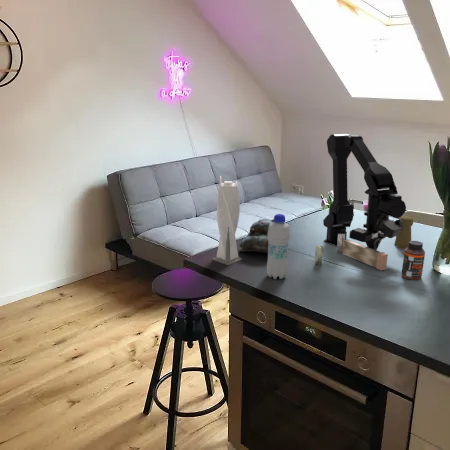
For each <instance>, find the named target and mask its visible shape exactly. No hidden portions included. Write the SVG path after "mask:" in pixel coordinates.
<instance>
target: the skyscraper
mask: <svg viewBox="0 0 450 450" xmlns="http://www.w3.org/2000/svg"><path fill="white" fill-rule="evenodd" d="M238 184H239V183H238V181H237V180H235V181H234V182H233V181H232V180H225V181H223V182H222V175H219V186H218V191H217V198H216V199H217V201H216V218H217V220H216V221H217V226H218V231H219V241H218V247H217V251H216V257H213V258H212V261H214V262H218V263H220V264H223V265H225V266H230V265H233V264H235V263H237V262H238V263H239V262H240V261H243V258H241V257H240V256H239V252H238V250H237V249H238V244H237V239H236V231H237V229H238V225H239V219H240V212H241V211H240V209H241V208H240V207H241V204H240V202H241V201H240V192H239V187H238V186H239V185H238Z"/></svg>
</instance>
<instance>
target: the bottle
mask: <svg viewBox="0 0 450 450" xmlns="http://www.w3.org/2000/svg"><path fill="white" fill-rule="evenodd" d="M273 219H274V222H273V223H271V224H269V229H268V234H267V235H268V241H269V242H268V253H267V263H266V272H267V276H268V277H269V278H270V279H272V278H273V279H274V280H277V277H278V278H279V280H283V278H286V276H287V274H288V251H289V241H290V237H291V234H290V225H289V224H288V223H286V216H285V214H282V213H278V214H277V213H276V214H275V215H274V216H273Z"/></svg>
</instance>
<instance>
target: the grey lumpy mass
mask: <svg viewBox="0 0 450 450" xmlns="http://www.w3.org/2000/svg"><path fill="white" fill-rule="evenodd" d="M273 222H274V218H273V219H270V218H262V219H260V218H259V219H258V220H257V221H255V222H253V223H252V224H251V226H250V227H249V232H248V234H247V235H246V236H245V237H244V238H243V239H242V240H241V241H240V243H239V248H237V250H238V251H239V252H240V253H242V252H257V253H258V252H259V253H266V254H268V242H269V241H268V235H267V234H268V229H269V224H271V223H273Z"/></svg>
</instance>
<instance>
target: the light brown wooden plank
mask: <svg viewBox="0 0 450 450" xmlns="http://www.w3.org/2000/svg"><path fill="white" fill-rule="evenodd" d="M342 255H345V256H347V257H349V258H352V259H354V260H356V261H359V262H362V263H364V264H366V265H368V266H371V267H374V268H376V269H377V270H378V271H384V270H386V269H387V262H388V256H389V254H388V253H385V252H381V251H379V250H377V251H376V250H374V249H371V248H369V247H367V245H363V244H360V243H358V242H355V241H352V240H349V239H346V240H344V245H343V254H342Z"/></svg>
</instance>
